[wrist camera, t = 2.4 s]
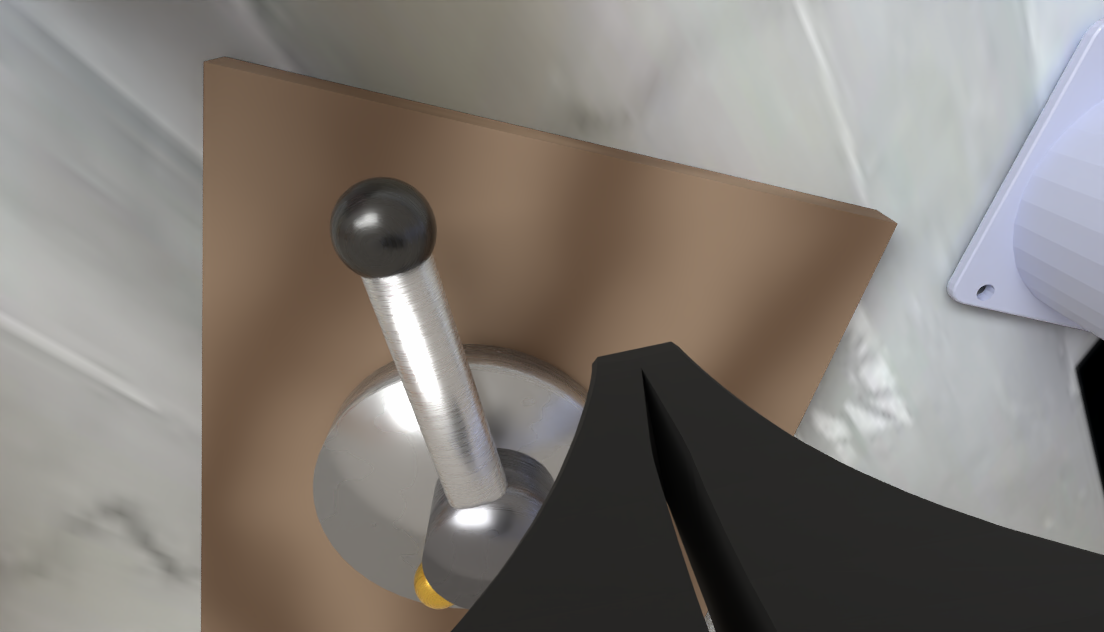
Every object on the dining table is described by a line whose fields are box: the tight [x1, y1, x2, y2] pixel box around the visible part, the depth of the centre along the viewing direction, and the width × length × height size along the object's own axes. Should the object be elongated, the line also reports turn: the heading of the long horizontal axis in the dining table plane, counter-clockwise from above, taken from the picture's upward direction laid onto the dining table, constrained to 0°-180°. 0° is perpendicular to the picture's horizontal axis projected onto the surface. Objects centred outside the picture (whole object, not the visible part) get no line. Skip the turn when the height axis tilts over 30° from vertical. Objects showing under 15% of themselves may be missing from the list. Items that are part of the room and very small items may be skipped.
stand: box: [201, 57, 897, 632], centre depth 21 cm, size 18×20×2 cm
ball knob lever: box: [313, 177, 588, 609], centre depth 19 cm, size 20×9×4 cm, turn 13°
